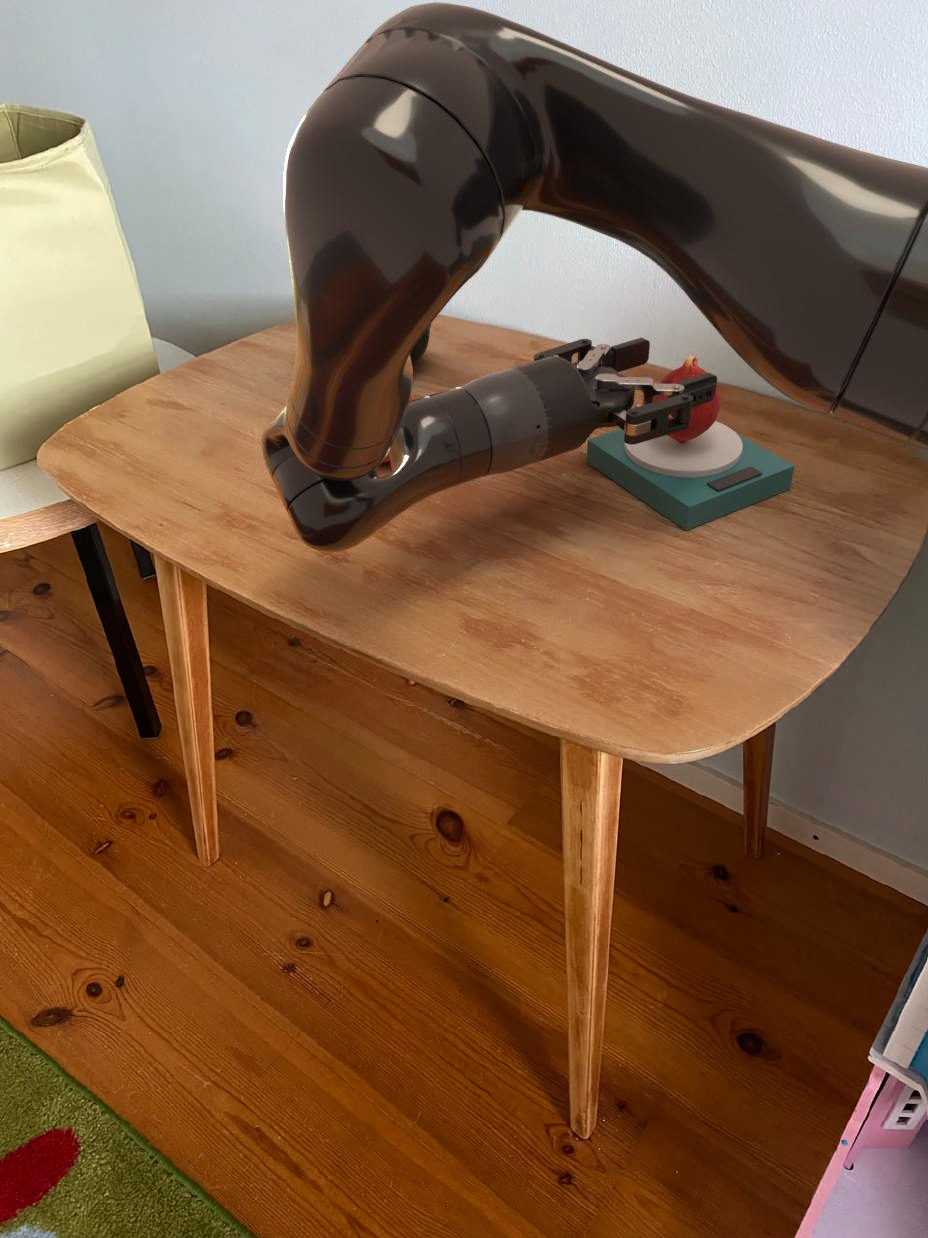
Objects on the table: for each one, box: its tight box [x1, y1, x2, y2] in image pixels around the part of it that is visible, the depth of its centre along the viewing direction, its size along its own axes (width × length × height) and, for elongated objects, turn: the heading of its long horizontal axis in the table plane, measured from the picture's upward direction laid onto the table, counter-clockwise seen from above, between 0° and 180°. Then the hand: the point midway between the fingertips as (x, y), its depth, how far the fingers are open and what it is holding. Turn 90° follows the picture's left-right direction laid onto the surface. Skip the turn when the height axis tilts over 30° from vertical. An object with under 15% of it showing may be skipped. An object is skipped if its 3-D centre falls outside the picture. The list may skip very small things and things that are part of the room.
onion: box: [652, 354, 722, 443], centre depth 86 cm, size 6×6×8 cm
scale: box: [586, 420, 795, 531], centre depth 89 cm, size 14×12×3 cm
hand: (678, 366), depth 83 cm, fingers open, 8 cm apart
